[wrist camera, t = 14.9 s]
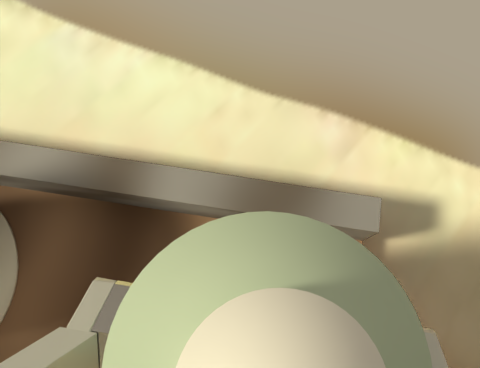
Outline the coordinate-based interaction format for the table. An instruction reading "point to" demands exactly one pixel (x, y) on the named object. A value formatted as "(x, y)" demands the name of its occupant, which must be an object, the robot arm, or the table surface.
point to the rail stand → (120, 225)
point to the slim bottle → (266, 302)
